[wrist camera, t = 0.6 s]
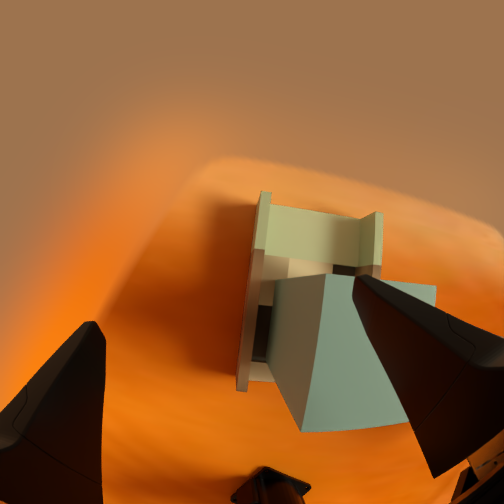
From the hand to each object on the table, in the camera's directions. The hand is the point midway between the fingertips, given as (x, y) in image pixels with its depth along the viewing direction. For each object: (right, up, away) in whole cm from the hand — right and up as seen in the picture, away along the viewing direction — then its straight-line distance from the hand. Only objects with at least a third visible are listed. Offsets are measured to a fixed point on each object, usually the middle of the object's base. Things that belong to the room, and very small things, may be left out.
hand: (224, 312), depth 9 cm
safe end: (+6, +3, +17) cm, 18 cm away
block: (+5, -4, +15) cm, 16 cm away
